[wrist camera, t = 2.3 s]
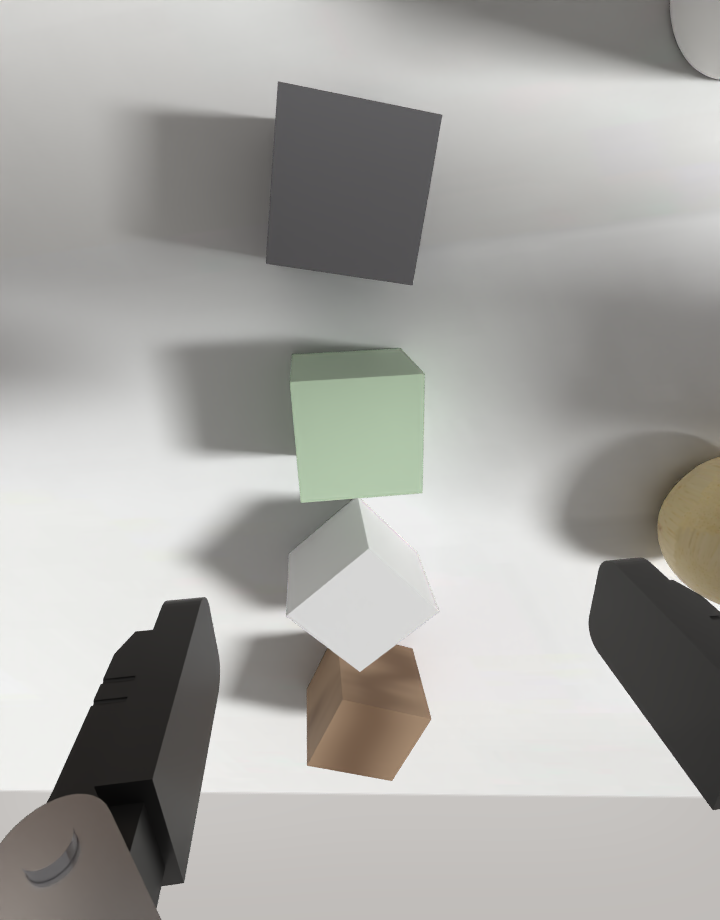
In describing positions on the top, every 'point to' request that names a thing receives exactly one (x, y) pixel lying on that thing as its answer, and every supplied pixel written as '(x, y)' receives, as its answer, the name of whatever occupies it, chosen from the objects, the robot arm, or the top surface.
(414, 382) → the sage block
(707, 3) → the mug
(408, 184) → the charcoal block
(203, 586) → the top surface
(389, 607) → the grey block
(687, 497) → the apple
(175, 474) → the top surface
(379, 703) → the walnut block
